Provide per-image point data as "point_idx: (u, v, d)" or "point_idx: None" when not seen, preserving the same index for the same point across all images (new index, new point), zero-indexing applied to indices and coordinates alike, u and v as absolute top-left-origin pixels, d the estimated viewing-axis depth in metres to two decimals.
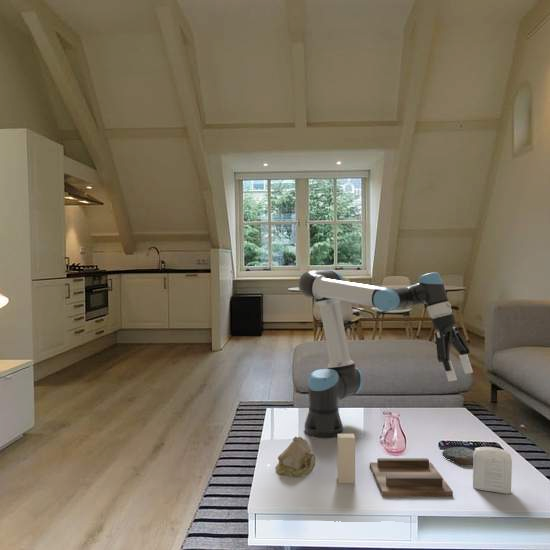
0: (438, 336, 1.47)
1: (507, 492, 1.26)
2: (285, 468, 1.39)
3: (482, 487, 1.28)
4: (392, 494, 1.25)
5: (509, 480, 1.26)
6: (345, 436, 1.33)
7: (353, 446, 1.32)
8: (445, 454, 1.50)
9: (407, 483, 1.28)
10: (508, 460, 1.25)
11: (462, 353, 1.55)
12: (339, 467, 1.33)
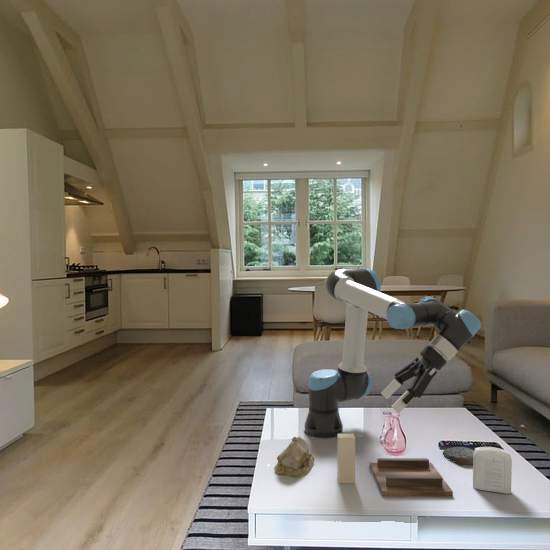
0: (430, 373, 1.27)
1: (507, 492, 1.26)
2: (284, 468, 1.39)
3: (482, 487, 1.28)
4: (392, 494, 1.25)
5: (509, 480, 1.26)
6: (345, 436, 1.33)
7: (353, 446, 1.32)
8: (445, 454, 1.50)
9: (407, 483, 1.28)
10: (508, 460, 1.25)
11: (398, 380, 1.41)
12: (339, 467, 1.33)
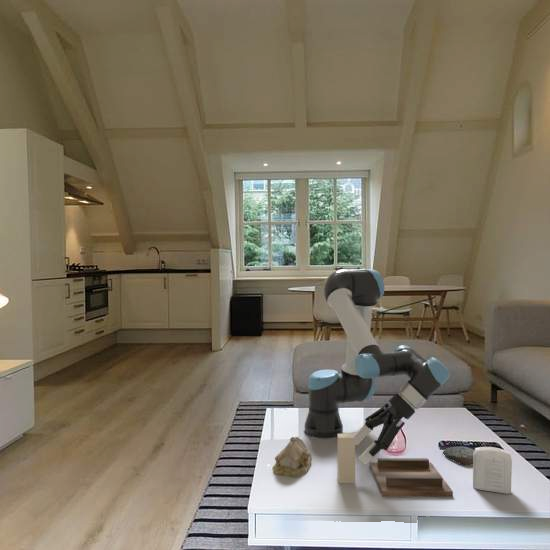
0: (398, 424, 1.26)
1: (507, 492, 1.26)
2: (283, 468, 1.39)
3: (482, 487, 1.28)
4: (392, 494, 1.25)
5: (509, 480, 1.26)
6: (345, 436, 1.33)
7: (353, 446, 1.32)
8: (446, 453, 1.50)
9: (407, 483, 1.28)
10: (508, 460, 1.25)
11: (368, 425, 1.40)
12: (339, 467, 1.33)
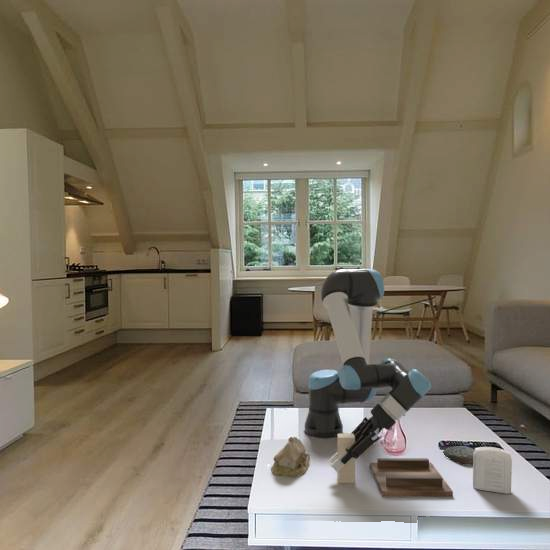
0: (372, 438, 1.28)
1: (507, 492, 1.26)
2: (281, 469, 1.39)
3: (482, 487, 1.28)
4: (392, 494, 1.25)
5: (509, 480, 1.26)
6: (345, 436, 1.33)
7: None
8: (446, 453, 1.50)
9: (407, 483, 1.28)
10: (508, 460, 1.25)
11: None
12: None
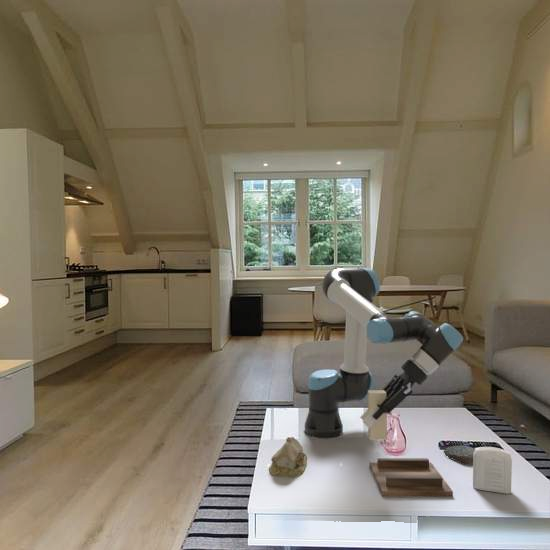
0: (404, 392, 1.26)
1: (507, 492, 1.26)
2: (280, 469, 1.39)
3: (482, 487, 1.28)
4: (392, 494, 1.25)
5: (509, 480, 1.26)
6: (376, 392, 1.32)
7: None
8: (447, 453, 1.51)
9: (407, 483, 1.28)
10: (508, 460, 1.25)
11: None
12: None
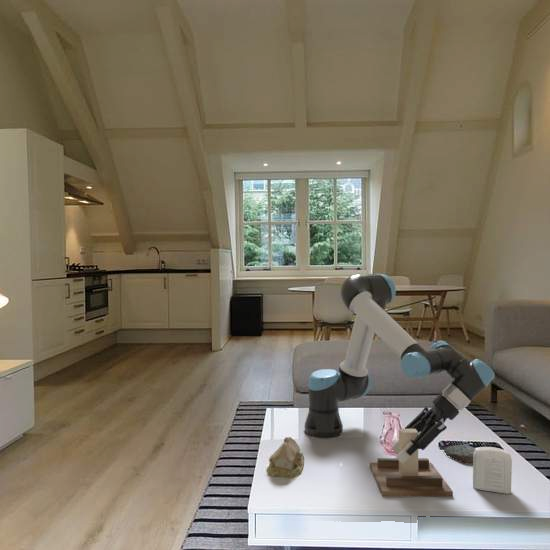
0: (439, 428, 1.27)
1: (507, 492, 1.26)
2: (278, 470, 1.38)
3: (482, 487, 1.28)
4: (392, 494, 1.25)
5: (509, 480, 1.26)
6: (408, 431, 1.33)
7: None
8: (447, 452, 1.51)
9: (407, 483, 1.28)
10: (508, 460, 1.25)
11: None
12: None
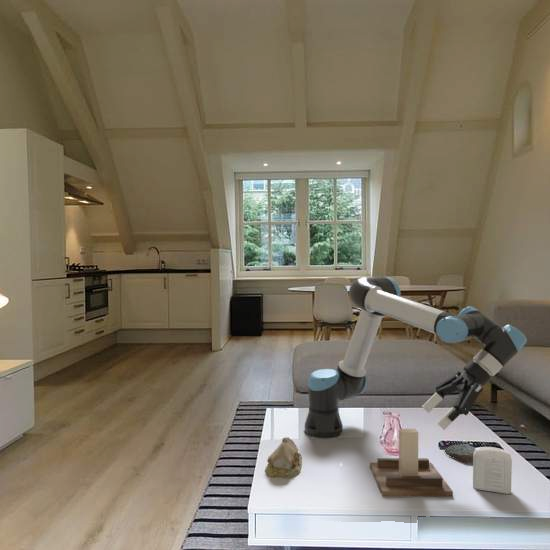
0: (476, 390, 1.26)
1: (507, 492, 1.26)
2: (277, 470, 1.38)
3: (482, 487, 1.28)
4: (392, 494, 1.25)
5: (509, 480, 1.26)
6: (408, 431, 1.33)
7: (416, 441, 1.32)
8: (448, 452, 1.52)
9: (407, 483, 1.28)
10: (508, 460, 1.25)
11: (439, 393, 1.41)
12: (402, 462, 1.33)
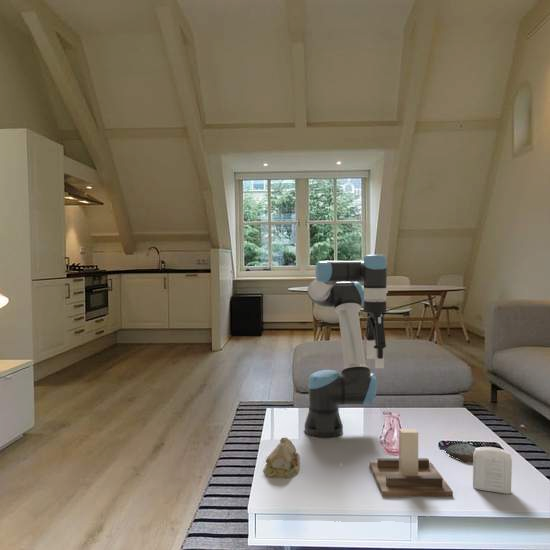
0: (379, 322, 1.41)
1: (507, 492, 1.26)
2: (275, 470, 1.38)
3: (482, 487, 1.28)
4: (392, 494, 1.25)
5: (509, 480, 1.26)
6: (408, 431, 1.33)
7: (416, 441, 1.32)
8: (448, 451, 1.52)
9: (407, 483, 1.28)
10: (508, 460, 1.25)
11: (369, 339, 1.55)
12: (402, 462, 1.33)
